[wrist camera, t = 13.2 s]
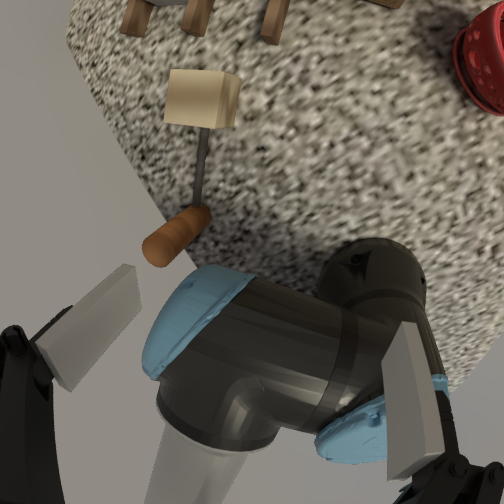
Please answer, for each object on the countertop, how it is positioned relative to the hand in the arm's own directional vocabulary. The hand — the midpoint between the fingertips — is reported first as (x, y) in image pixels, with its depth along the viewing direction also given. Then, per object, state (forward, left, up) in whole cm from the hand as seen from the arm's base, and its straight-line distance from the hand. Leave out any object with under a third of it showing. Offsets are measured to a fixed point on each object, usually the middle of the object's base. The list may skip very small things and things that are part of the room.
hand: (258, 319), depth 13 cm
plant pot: (+24, -18, -23) cm, 38 cm away
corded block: (+1, +13, -23) cm, 26 cm away
